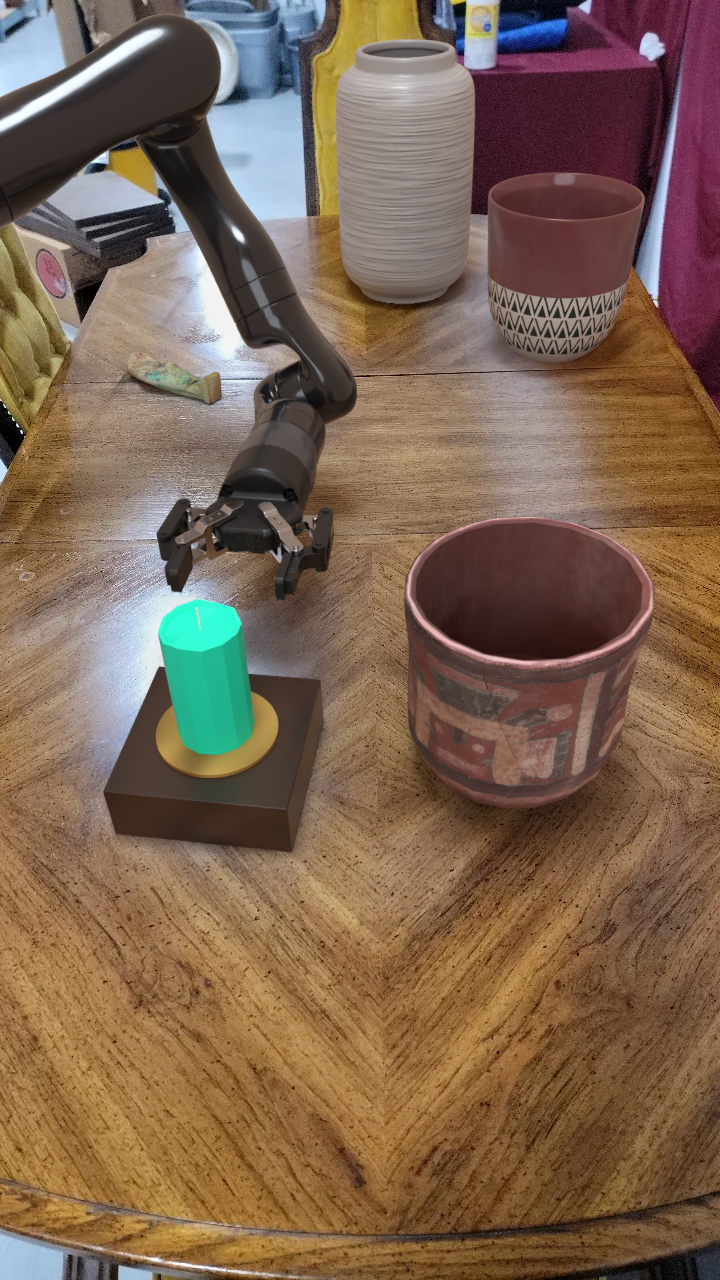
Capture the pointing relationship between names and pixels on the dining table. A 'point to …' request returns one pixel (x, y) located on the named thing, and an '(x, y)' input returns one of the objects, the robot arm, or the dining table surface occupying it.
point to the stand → (219, 771)
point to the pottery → (522, 656)
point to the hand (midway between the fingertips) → (226, 587)
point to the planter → (559, 261)
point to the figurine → (174, 377)
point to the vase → (405, 169)
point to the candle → (207, 676)
